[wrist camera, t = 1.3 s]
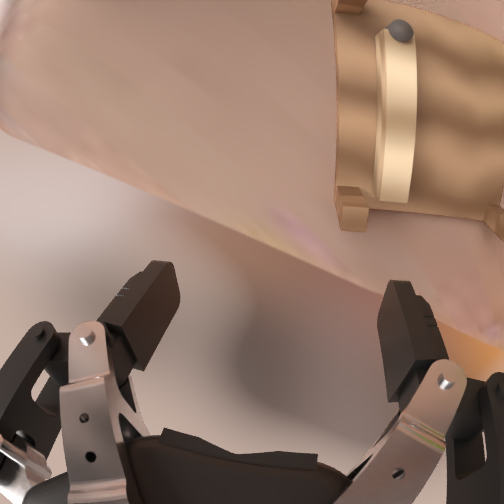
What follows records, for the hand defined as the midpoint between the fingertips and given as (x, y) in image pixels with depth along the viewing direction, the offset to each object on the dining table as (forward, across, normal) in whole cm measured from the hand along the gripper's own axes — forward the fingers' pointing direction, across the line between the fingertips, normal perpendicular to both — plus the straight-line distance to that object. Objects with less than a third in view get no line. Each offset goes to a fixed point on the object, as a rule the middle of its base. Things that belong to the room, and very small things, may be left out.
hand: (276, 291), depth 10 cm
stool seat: (+18, -13, -7) cm, 24 cm away
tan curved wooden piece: (+16, -8, -6) cm, 19 cm away
